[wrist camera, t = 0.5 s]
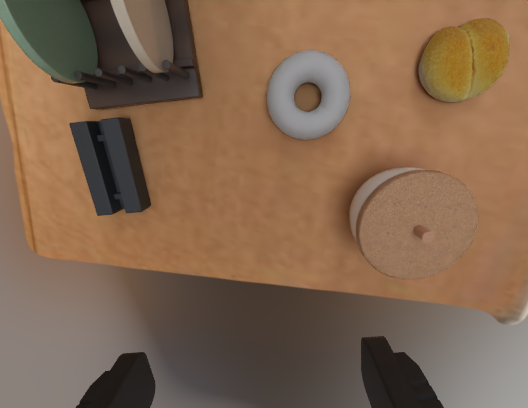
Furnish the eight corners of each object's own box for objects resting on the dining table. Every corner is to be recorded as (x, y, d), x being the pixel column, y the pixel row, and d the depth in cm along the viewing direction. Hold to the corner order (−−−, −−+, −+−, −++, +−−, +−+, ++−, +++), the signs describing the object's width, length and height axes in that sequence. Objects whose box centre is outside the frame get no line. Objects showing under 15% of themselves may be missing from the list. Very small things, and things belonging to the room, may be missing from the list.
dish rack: (59, -31, 29) (-9, -80, 22) (179, -49, 29) (149, -106, 22) (97, 109, 34) (50, 105, 27) (203, 97, 33) (184, 90, 26)
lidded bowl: (345, 156, 35) (377, 171, 24) (439, 162, 35) (513, 179, 24) (332, 242, 39) (355, 287, 28) (417, 247, 38) (473, 294, 28)
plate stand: (85, 123, 34) (68, 123, 32) (130, 118, 34) (117, 117, 31) (110, 209, 38) (97, 216, 35) (151, 205, 38) (141, 211, 35)
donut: (282, 42, 31) (256, 124, 34) (283, 31, 28) (254, 124, 31) (358, 71, 32) (327, 150, 35) (369, 64, 29) (333, 152, 31)
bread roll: (412, 38, 31) (432, 26, 27) (493, 17, 30) (525, 1, 26) (417, 110, 33) (436, 109, 29) (492, 92, 32) (522, 88, 28)
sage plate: (71, -19, 28) (-45, -102, 18) (80, -20, 28) (-31, -104, 18) (100, 89, 32) (16, 73, 21) (108, 88, 32) (27, 71, 21)
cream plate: (151, -30, 28) (79, -122, 18) (160, -32, 28) (94, -125, 17) (172, 81, 31) (122, 59, 21) (180, 80, 31) (134, 58, 21)
